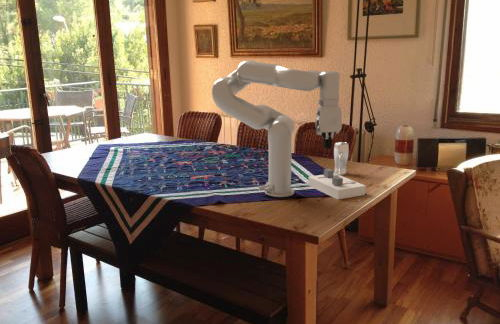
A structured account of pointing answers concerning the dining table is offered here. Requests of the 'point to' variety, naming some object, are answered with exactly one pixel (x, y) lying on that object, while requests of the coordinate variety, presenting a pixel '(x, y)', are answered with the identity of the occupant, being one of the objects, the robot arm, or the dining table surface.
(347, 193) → the switch panel
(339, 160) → the beer glass
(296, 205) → the dining table surface
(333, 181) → the front switch
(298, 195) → the dining table surface
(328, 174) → the back switch
